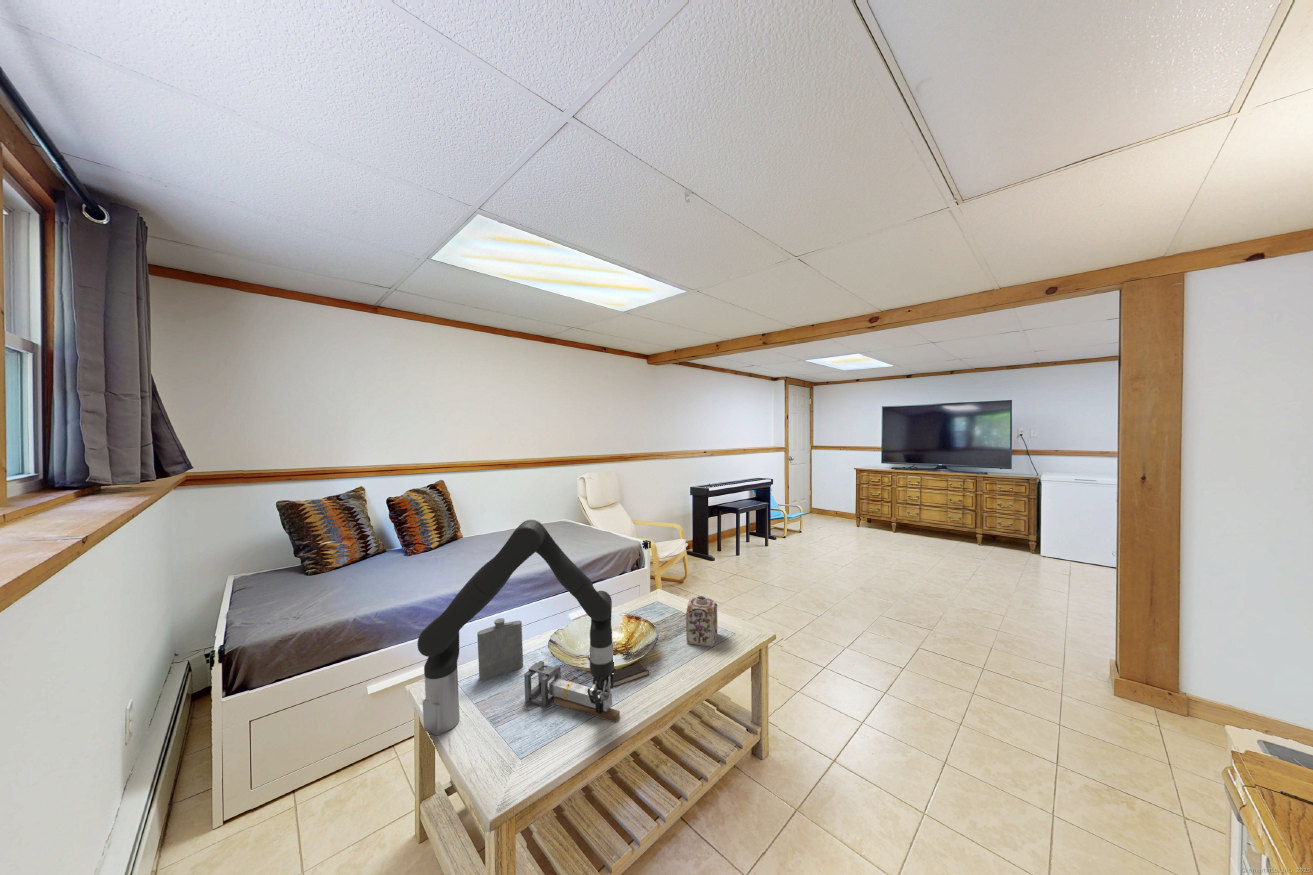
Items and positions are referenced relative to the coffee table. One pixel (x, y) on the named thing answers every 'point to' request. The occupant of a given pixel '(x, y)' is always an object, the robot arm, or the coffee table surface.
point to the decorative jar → (701, 621)
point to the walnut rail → (588, 709)
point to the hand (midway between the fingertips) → (602, 708)
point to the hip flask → (500, 649)
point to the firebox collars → (540, 683)
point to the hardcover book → (629, 673)
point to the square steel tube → (576, 693)
